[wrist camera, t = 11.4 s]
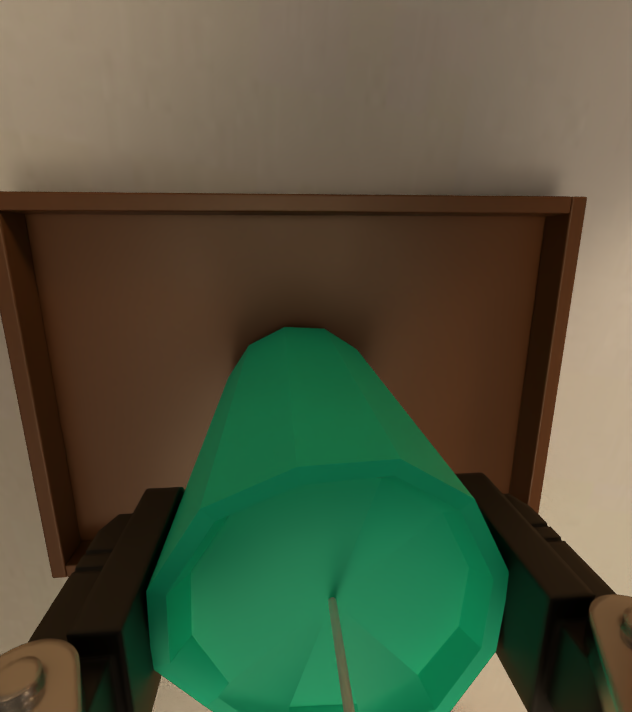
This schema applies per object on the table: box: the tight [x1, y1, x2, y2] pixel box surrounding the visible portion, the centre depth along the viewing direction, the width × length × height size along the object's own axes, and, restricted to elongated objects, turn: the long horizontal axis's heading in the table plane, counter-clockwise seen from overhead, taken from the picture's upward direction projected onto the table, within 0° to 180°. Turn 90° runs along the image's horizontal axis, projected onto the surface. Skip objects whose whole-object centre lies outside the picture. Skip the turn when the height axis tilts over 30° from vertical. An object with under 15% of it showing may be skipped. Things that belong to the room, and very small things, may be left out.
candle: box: [146, 327, 509, 712], centre depth 11 cm, size 6×6×12 cm
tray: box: [0, 191, 587, 578], centre depth 17 cm, size 21×15×2 cm
